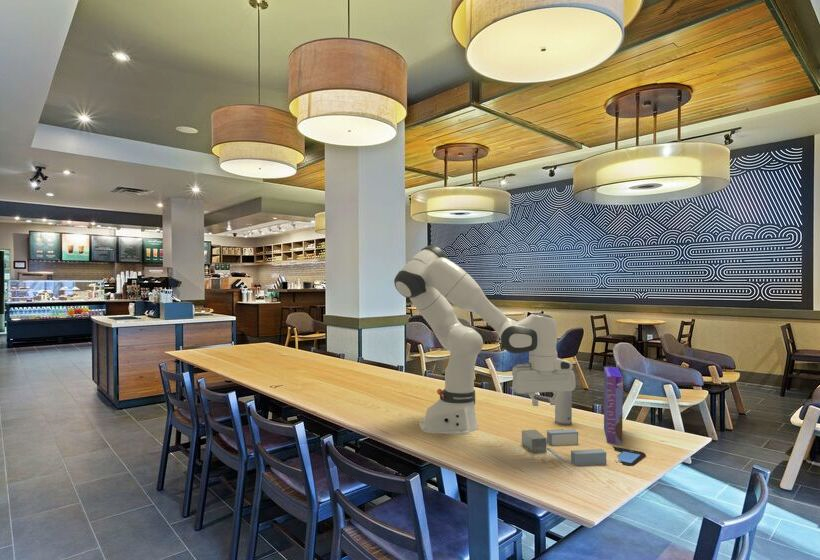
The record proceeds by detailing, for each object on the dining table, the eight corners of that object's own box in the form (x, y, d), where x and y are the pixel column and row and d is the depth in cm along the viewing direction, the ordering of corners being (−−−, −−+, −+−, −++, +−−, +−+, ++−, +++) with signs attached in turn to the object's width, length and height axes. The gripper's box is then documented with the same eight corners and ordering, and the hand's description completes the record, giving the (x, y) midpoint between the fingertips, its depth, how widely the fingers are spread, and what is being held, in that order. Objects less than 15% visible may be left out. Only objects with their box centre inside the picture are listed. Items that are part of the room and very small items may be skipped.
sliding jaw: (550, 448, 150) (550, 433, 150) (541, 440, 157) (541, 426, 157) (578, 446, 151) (578, 432, 151) (568, 439, 158) (568, 425, 158)
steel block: (532, 457, 143) (532, 439, 143) (521, 447, 151) (521, 430, 151) (546, 456, 144) (546, 438, 144) (535, 446, 152) (535, 429, 152)
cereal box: (622, 446, 152) (622, 376, 151) (607, 444, 153) (607, 375, 153) (617, 429, 168) (617, 366, 168) (603, 428, 170) (604, 365, 169)
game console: (607, 448, 151) (607, 442, 151) (648, 459, 142) (648, 452, 142) (589, 461, 141) (589, 454, 141) (631, 474, 132) (631, 466, 132)
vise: (567, 471, 133) (567, 454, 133) (547, 452, 147) (547, 437, 147) (606, 468, 135) (606, 452, 135) (582, 450, 149) (582, 435, 149)
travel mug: (573, 426, 172) (573, 375, 171) (555, 425, 173) (556, 374, 172) (571, 421, 178) (571, 371, 177) (554, 420, 179) (554, 371, 179)
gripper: (515, 366, 140) (516, 409, 140) (577, 363, 142) (578, 406, 142) (509, 362, 146) (509, 403, 147) (568, 359, 148) (569, 400, 148)
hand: (544, 405), depth 144 cm, fingers open, 4 cm apart
